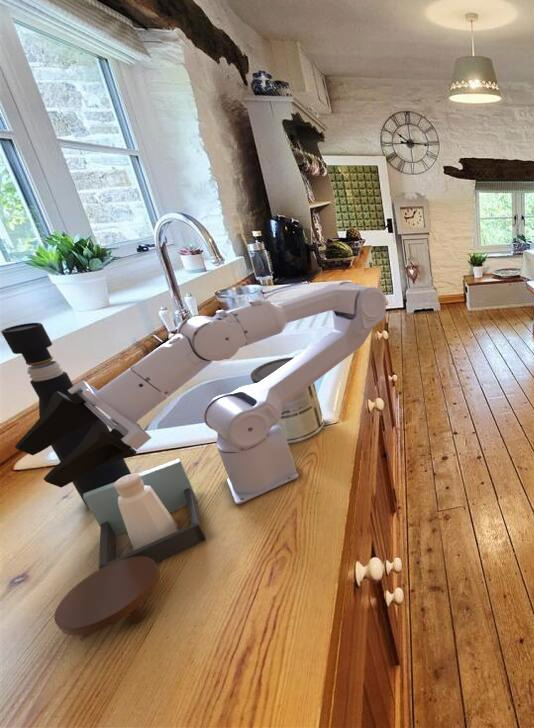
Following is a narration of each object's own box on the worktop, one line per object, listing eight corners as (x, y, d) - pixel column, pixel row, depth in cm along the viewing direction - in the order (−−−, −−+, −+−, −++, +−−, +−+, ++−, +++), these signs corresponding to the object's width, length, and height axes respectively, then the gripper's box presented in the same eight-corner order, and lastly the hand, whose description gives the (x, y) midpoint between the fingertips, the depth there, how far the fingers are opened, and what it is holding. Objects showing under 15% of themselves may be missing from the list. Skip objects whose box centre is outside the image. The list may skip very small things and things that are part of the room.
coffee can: (261, 432, 84) (241, 370, 78) (310, 410, 91) (294, 352, 86) (283, 451, 78) (263, 385, 72) (334, 426, 85) (319, 365, 79)
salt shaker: (171, 548, 58) (140, 487, 54) (125, 559, 56) (90, 498, 52) (185, 520, 63) (159, 462, 58) (143, 529, 61) (113, 471, 57)
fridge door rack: (196, 497, 67) (179, 458, 64) (207, 539, 59) (188, 496, 56) (107, 535, 61) (83, 493, 57) (106, 587, 53) (78, 542, 49)
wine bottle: (146, 482, 71) (67, 319, 59) (110, 510, 65) (14, 335, 53) (113, 480, 72) (28, 319, 60) (74, 508, 66) (-29, 335, 54)
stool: (165, 565, 55) (154, 543, 54) (171, 613, 49) (159, 590, 48) (73, 610, 50) (58, 587, 48) (67, 670, 44) (49, 647, 42)
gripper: (97, 343, 54) (-23, 422, 48) (157, 390, 49) (32, 486, 43) (137, 373, 60) (35, 447, 53) (194, 418, 55) (89, 507, 48)
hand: (37, 466), depth 48 cm, fingers open, 7 cm apart
